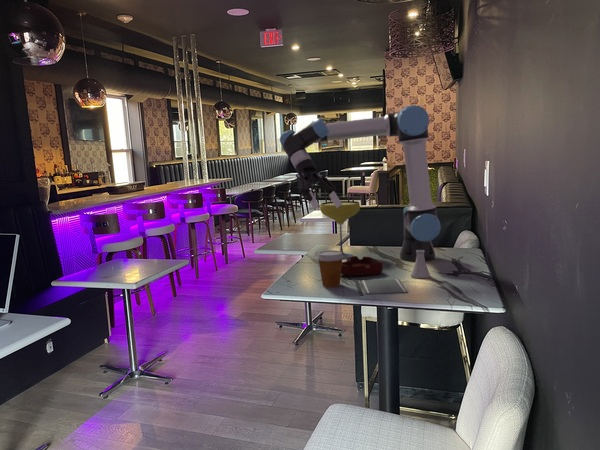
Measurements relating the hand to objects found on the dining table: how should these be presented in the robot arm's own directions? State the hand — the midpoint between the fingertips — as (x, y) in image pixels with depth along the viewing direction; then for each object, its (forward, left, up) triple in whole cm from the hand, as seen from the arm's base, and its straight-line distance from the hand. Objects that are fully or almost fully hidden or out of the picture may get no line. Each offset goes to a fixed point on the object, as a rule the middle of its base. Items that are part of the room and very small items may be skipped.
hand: (328, 206), depth 176 cm
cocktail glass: (-7, -34, -27) cm, 44 cm away
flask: (-34, +6, -28) cm, 44 cm away
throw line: (-9, +18, -27) cm, 34 cm away
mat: (-18, +18, -27) cm, 37 cm away
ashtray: (-13, -3, -28) cm, 31 cm away
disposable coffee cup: (0, +13, -27) cm, 30 cm away
